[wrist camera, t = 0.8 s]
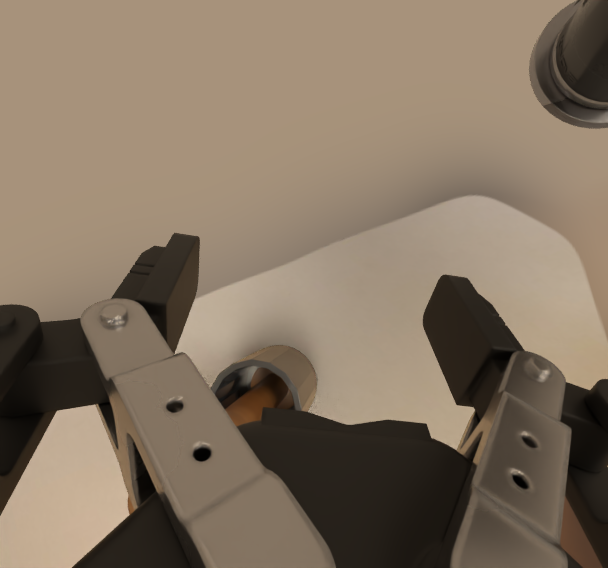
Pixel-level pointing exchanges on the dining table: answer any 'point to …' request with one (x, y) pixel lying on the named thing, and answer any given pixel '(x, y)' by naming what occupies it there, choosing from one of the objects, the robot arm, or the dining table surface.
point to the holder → (280, 362)
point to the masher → (256, 401)
